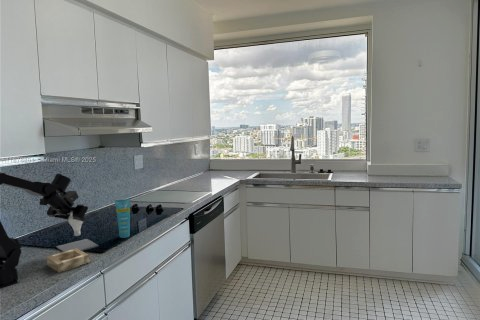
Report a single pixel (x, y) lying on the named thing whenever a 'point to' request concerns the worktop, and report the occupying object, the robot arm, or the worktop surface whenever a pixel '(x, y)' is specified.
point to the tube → (123, 217)
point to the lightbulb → (75, 225)
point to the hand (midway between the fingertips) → (78, 220)
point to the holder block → (67, 260)
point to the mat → (78, 245)
